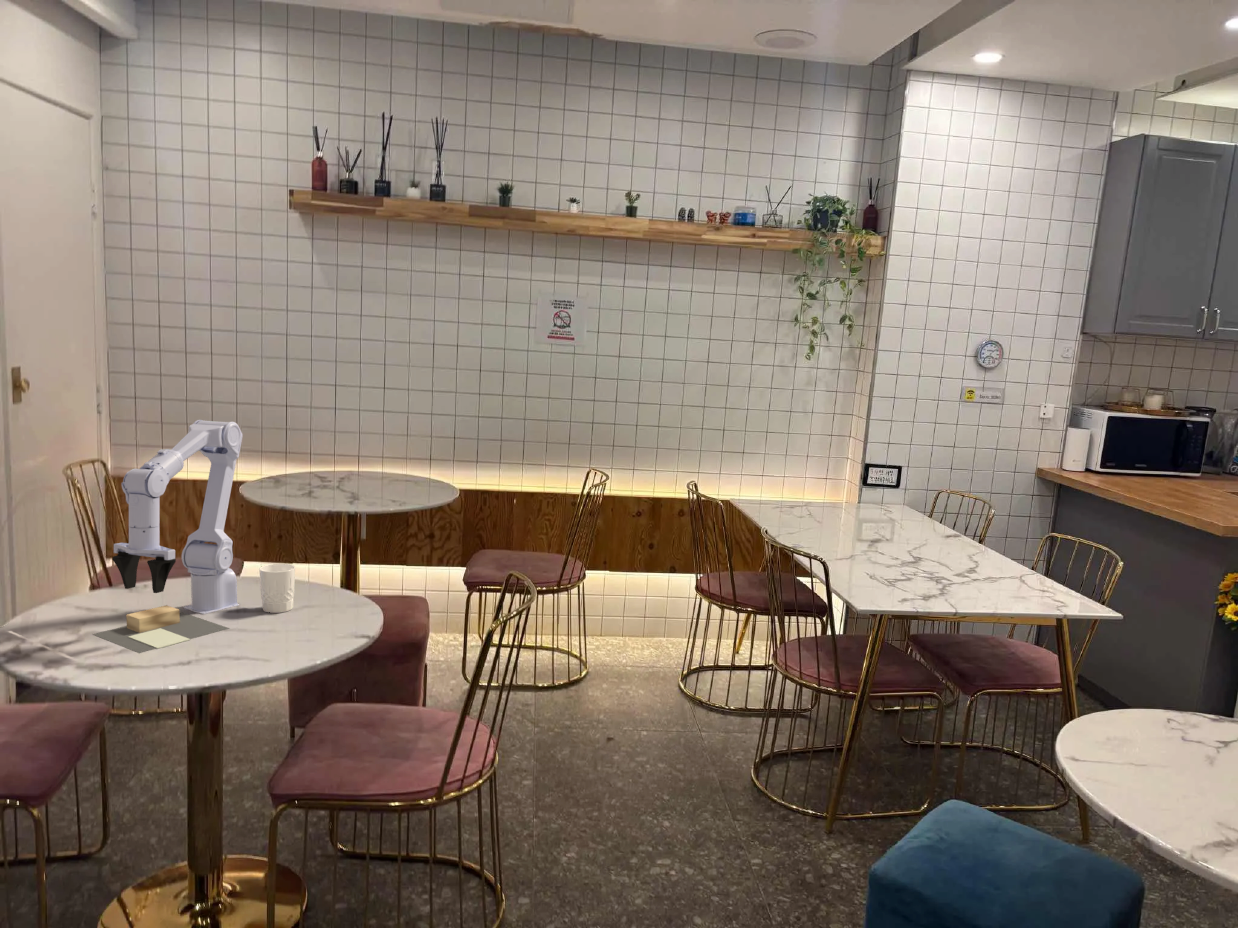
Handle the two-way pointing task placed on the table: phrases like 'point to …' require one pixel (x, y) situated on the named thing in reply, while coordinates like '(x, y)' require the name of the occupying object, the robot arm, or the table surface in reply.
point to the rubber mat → (161, 634)
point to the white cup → (277, 587)
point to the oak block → (153, 618)
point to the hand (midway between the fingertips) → (144, 589)
